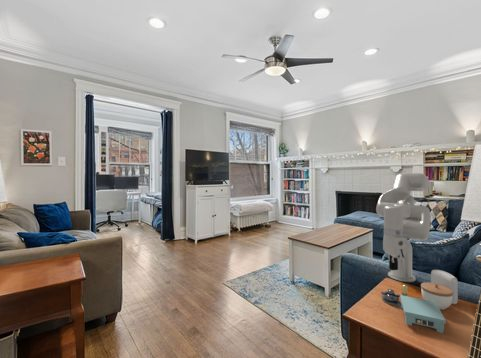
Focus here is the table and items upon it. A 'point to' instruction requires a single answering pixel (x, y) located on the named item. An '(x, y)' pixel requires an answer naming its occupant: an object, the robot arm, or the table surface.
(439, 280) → the photo printer
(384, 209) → the robot arm
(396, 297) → the cross handle valve
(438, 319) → the spoked knob panel
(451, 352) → the table surface
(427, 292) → the lidded jar
